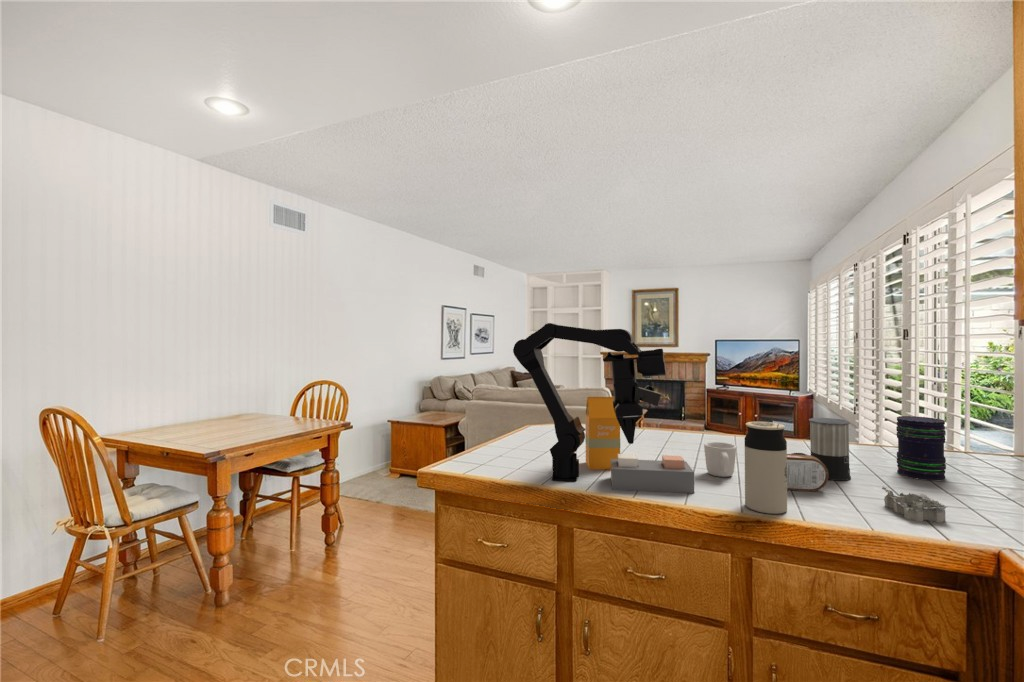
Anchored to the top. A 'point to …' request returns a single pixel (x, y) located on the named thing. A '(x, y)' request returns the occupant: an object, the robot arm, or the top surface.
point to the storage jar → (921, 447)
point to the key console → (652, 477)
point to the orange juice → (601, 433)
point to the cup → (720, 458)
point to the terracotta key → (672, 462)
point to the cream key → (627, 460)
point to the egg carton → (916, 506)
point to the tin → (805, 473)
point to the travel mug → (766, 468)
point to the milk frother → (831, 446)
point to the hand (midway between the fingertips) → (629, 440)
